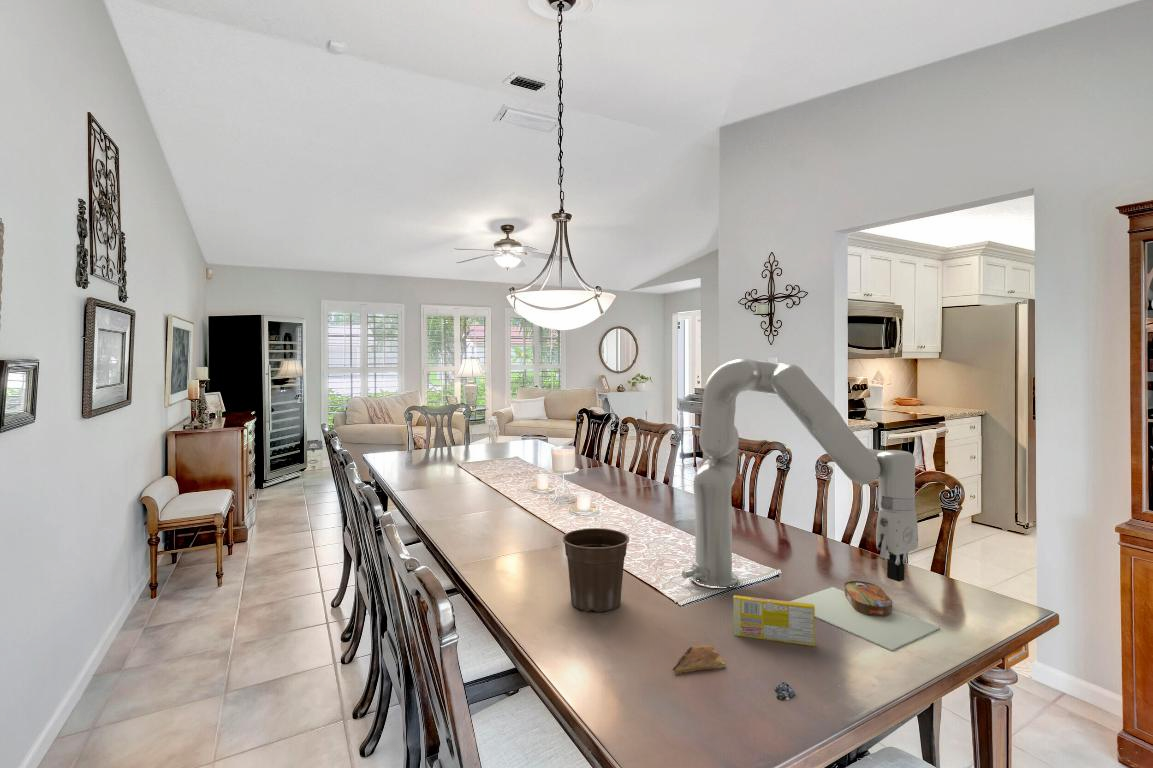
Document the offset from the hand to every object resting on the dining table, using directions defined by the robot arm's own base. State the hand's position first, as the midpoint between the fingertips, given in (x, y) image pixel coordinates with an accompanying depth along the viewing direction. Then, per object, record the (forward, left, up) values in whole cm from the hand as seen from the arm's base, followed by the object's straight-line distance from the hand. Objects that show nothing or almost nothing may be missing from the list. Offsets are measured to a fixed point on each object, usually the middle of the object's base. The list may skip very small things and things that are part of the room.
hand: (895, 579), depth 134 cm
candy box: (-38, +4, -7) cm, 38 cm away
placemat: (-13, +1, -6) cm, 14 cm away
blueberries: (-52, -10, -7) cm, 53 cm away
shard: (-58, +4, -7) cm, 58 cm away
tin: (-2, +1, -5) cm, 5 cm away
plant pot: (-60, +39, -7) cm, 72 cm away
